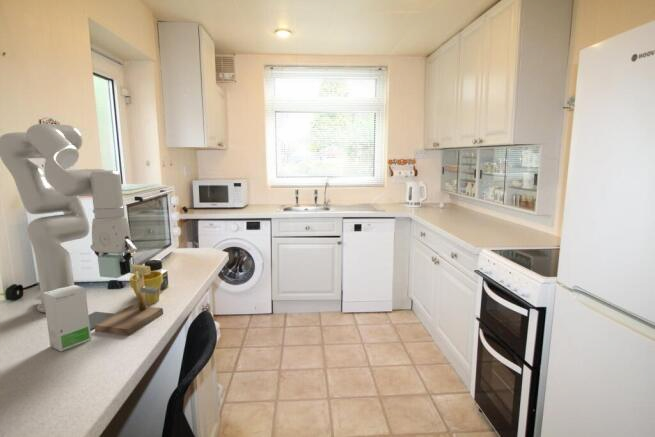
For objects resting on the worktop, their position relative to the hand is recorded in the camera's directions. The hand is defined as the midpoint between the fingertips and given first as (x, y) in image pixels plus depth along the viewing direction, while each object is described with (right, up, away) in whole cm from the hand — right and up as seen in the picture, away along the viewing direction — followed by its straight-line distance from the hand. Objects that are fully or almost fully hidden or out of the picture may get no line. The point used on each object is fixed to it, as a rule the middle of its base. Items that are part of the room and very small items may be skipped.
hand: (116, 272), depth 110 cm
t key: (+4, -13, +10) cm, 17 cm away
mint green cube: (0, -1, 0) cm, 1 cm away
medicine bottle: (-3, -12, +33) cm, 35 cm away
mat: (-11, -17, +6) cm, 21 cm away
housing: (+1, -17, +6) cm, 18 cm away
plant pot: (-1, -14, +22) cm, 26 cm away
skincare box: (-9, -19, -6) cm, 22 cm away
